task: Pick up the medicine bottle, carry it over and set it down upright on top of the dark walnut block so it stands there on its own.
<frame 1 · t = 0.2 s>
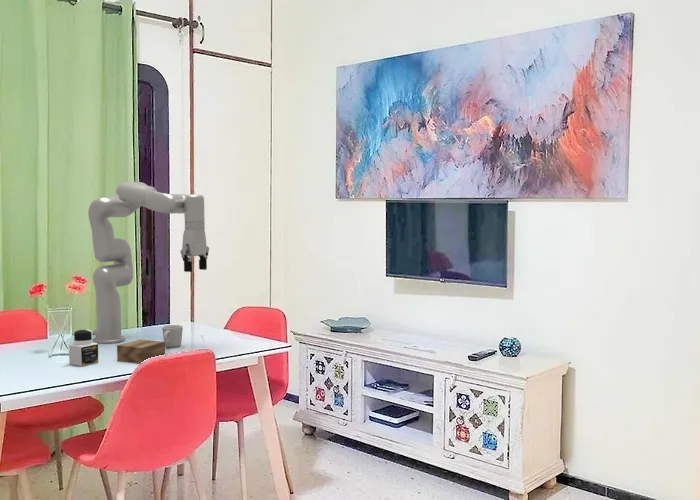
hand: (195, 270, 271), 31 cm above the table, fingers open, 9 cm apart
medicine bottle: (84, 364, 250), on the table
walnut block: (141, 359, 257), on the table
cup: (171, 347, 279), on the table
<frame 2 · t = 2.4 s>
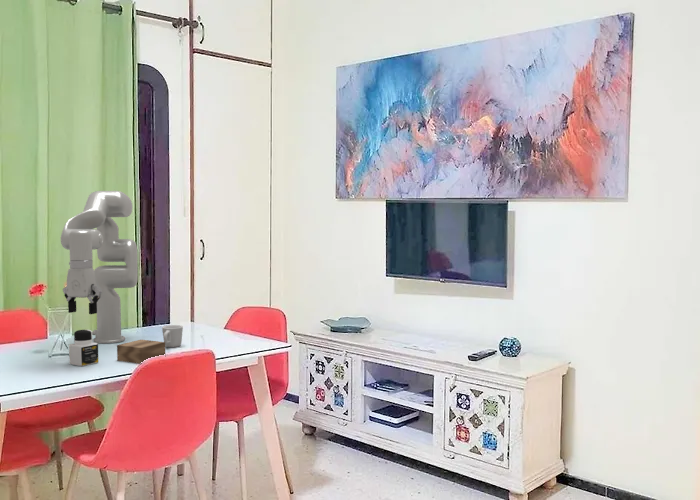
hand: (82, 313, 249), 18 cm above the table, fingers open, 9 cm apart
nothing on the table moved.
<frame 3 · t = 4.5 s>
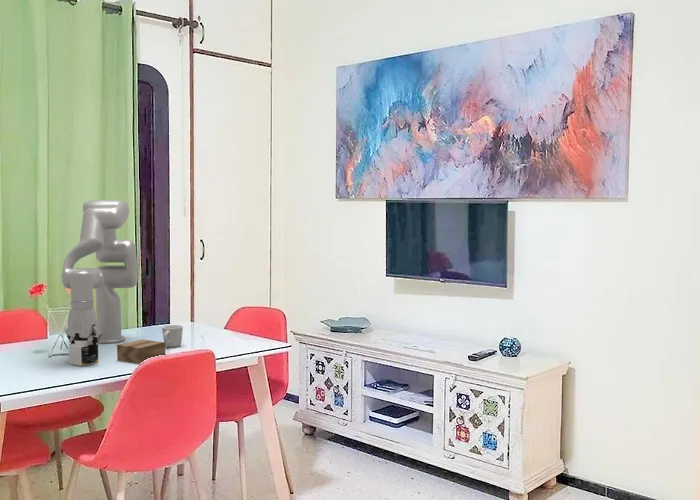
hand: (83, 353, 250), 3 cm above the table, fingers closed on medicine bottle, 7 cm apart
medicine bottle: (84, 364, 250), on the table, touching gripper
everything else where it was.
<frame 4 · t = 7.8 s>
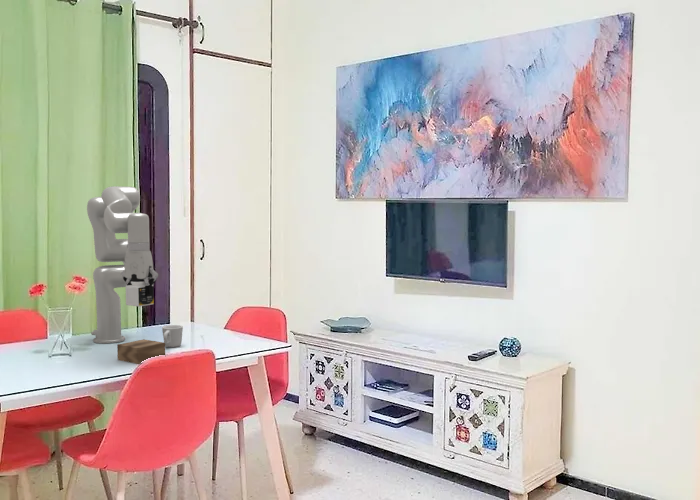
hand: (139, 295, 256), 24 cm above the table, fingers closed on medicine bottle, 7 cm apart
medicine bottle: (140, 305, 256), point 20 cm above the table, touching gripper
everything else where it was.
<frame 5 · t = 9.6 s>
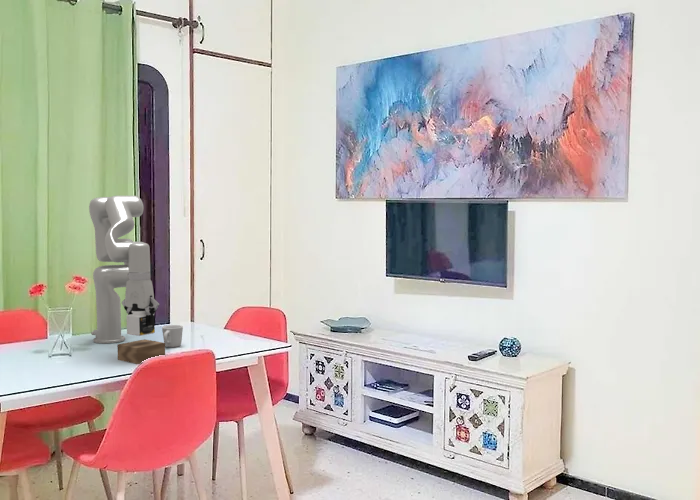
hand: (140, 324, 256), 13 cm above the table, fingers closed on medicine bottle, 7 cm apart
medicine bottle: (140, 334, 256), point 9 cm above the table, touching gripper
everything else where it was.
when the fingers open (11 cm above the table, at t = 11.1 s): medicine bottle drops 2 cm, resting on walnut block.
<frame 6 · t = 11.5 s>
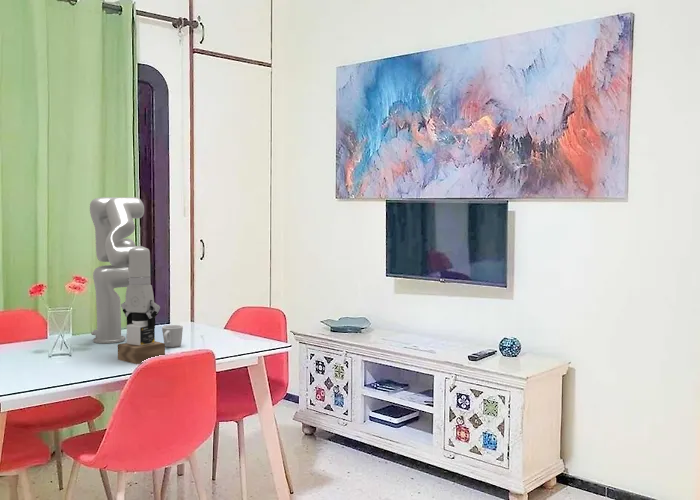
hand: (140, 327, 256), 12 cm above the table, fingers open, 9 cm apart
medicine bottle: (140, 344, 257), point 5 cm above the table, touching walnut block
walnut block: (141, 359, 257), on the table, touching medicine bottle
everything else where it was.
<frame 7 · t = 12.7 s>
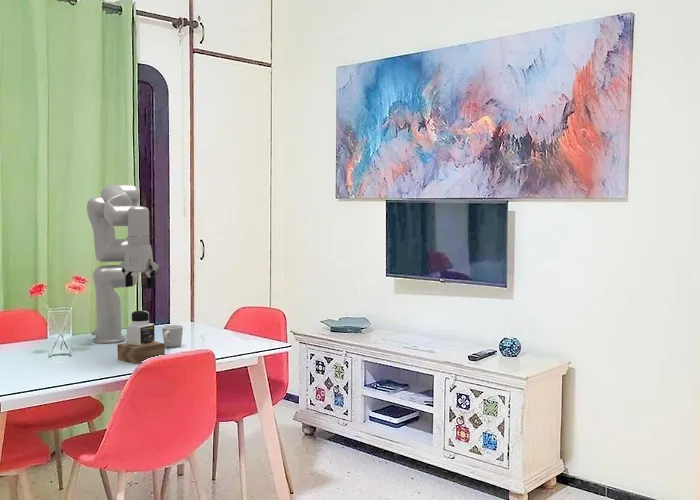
hand: (139, 287, 256), 26 cm above the table, fingers open, 9 cm apart
nothing on the table moved.
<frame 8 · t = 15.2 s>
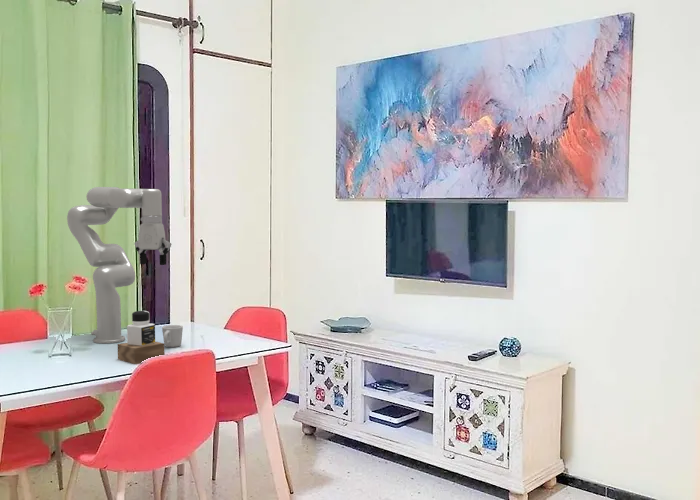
hand: (153, 264, 274), 33 cm above the table, fingers open, 9 cm apart
nothing on the table moved.
at the end: medicine bottle inside the target area on the walnut block (0.3 cm from its centre), point 5.9 cm above the walnut block's base; medicine bottle tilted 2°; the gripper is holding nothing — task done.
